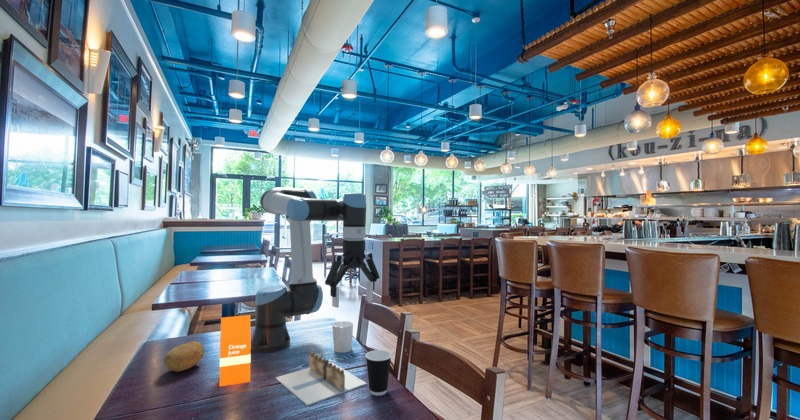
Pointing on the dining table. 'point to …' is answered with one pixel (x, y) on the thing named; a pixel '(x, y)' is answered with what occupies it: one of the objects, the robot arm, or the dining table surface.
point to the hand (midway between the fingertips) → (353, 303)
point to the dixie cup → (378, 371)
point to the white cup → (342, 336)
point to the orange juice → (235, 350)
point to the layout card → (316, 385)
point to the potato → (184, 356)
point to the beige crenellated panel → (317, 363)
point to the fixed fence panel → (334, 375)
